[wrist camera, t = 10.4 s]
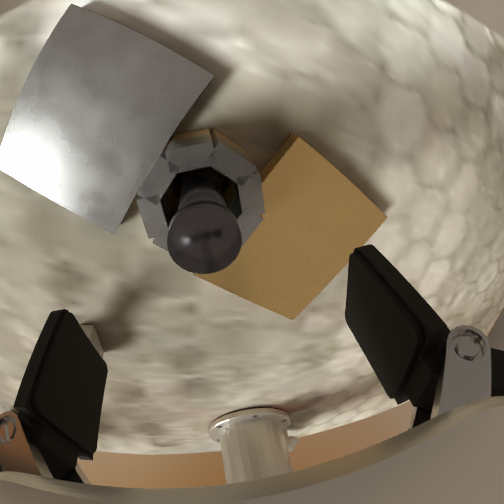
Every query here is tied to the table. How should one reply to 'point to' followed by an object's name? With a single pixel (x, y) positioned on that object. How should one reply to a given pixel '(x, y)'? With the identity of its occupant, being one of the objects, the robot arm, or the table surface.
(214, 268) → the dark round-topped peg
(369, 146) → the table surface
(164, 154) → the hinge
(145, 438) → the table surface
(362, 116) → the table surface
